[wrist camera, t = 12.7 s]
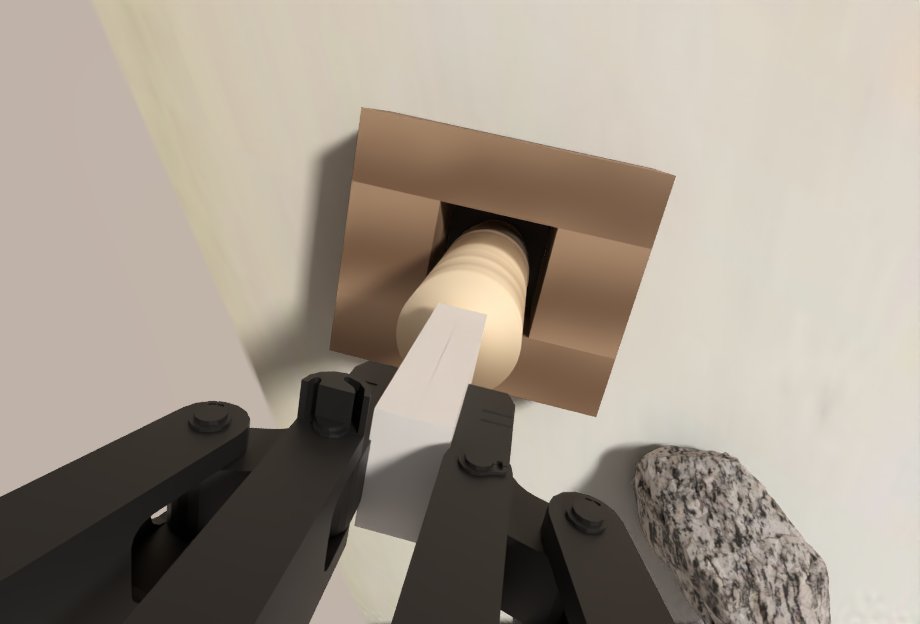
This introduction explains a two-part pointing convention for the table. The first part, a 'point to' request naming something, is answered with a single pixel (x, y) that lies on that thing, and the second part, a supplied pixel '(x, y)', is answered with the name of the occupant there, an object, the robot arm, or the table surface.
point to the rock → (728, 540)
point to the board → (510, 194)
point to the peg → (477, 296)
